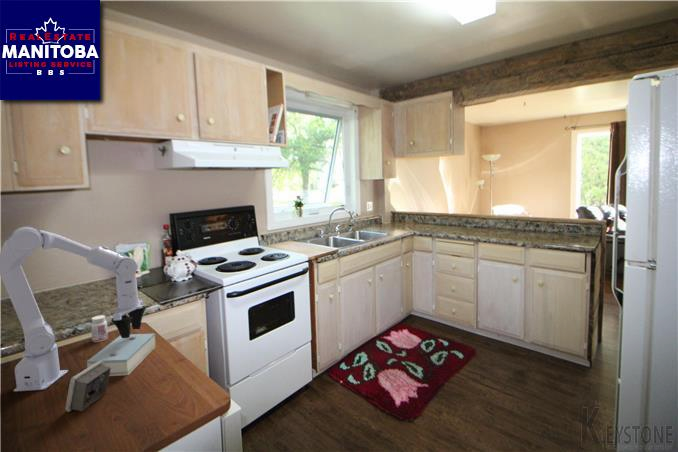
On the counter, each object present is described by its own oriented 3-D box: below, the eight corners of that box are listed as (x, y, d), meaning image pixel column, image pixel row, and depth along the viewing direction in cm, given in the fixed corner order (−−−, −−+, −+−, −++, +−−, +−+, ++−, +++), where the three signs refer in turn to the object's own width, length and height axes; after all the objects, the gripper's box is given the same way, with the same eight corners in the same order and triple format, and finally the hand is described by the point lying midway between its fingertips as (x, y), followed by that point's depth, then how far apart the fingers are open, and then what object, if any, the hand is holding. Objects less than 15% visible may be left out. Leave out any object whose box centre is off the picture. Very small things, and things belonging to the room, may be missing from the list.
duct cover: (121, 337, 116) (121, 334, 116) (154, 335, 117) (154, 332, 117) (87, 364, 98) (86, 360, 98) (126, 362, 99) (126, 358, 99)
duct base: (128, 375, 100) (126, 362, 99) (88, 377, 99) (87, 364, 99) (155, 346, 118) (154, 335, 117) (122, 348, 117) (121, 337, 116)
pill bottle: (100, 343, 121) (97, 320, 120) (89, 342, 122) (86, 319, 121) (111, 337, 126) (109, 315, 125) (100, 336, 127) (98, 314, 126)
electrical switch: (95, 390, 92) (95, 358, 91) (113, 393, 92) (113, 361, 91) (64, 413, 83) (63, 377, 82) (83, 416, 83) (83, 380, 82)
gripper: (128, 299, 104) (132, 342, 106) (150, 286, 118) (153, 323, 120) (104, 300, 103) (108, 343, 105) (129, 287, 118) (133, 324, 119)
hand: (131, 333), depth 112 cm, fingers open, 6 cm apart
